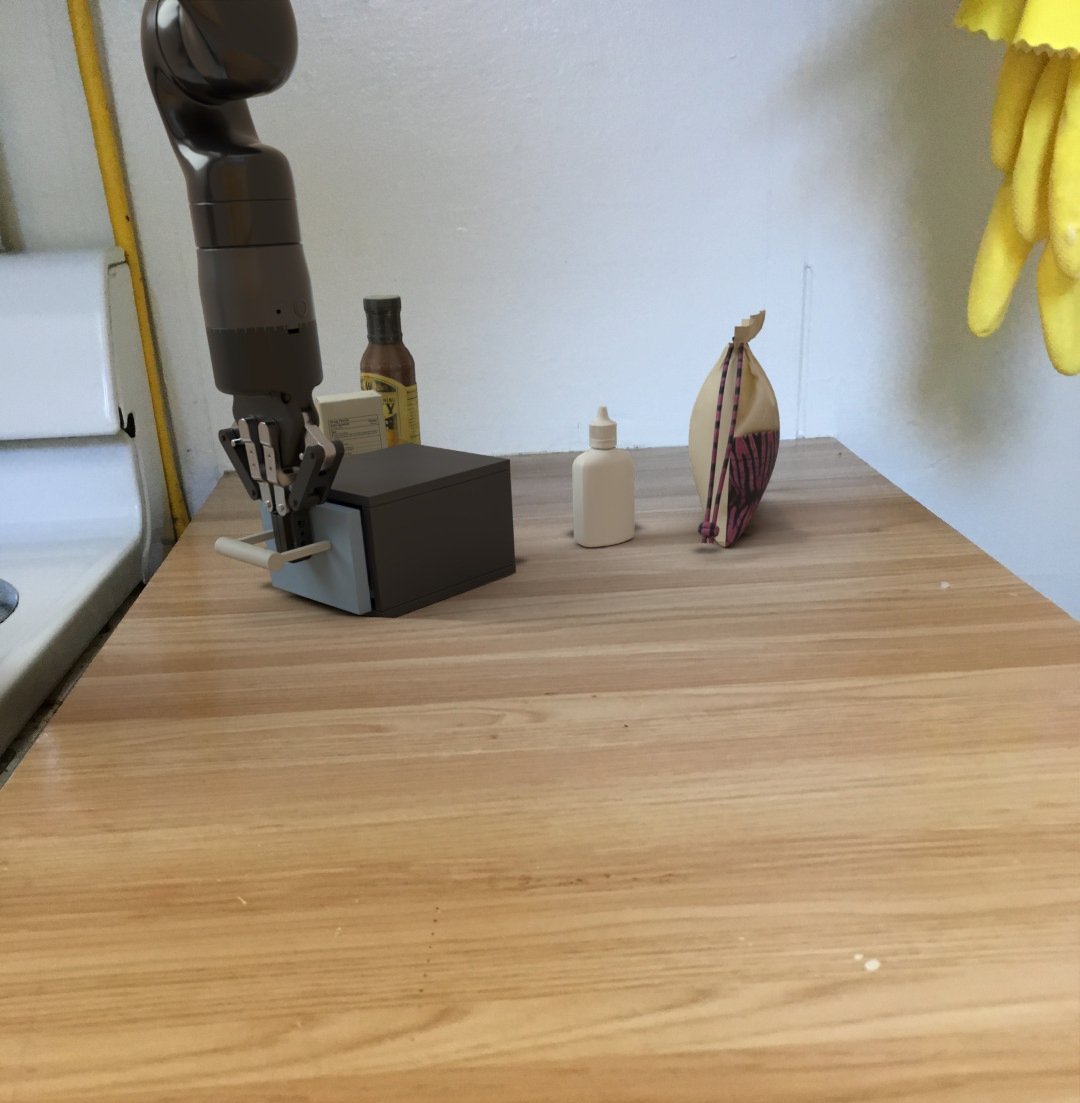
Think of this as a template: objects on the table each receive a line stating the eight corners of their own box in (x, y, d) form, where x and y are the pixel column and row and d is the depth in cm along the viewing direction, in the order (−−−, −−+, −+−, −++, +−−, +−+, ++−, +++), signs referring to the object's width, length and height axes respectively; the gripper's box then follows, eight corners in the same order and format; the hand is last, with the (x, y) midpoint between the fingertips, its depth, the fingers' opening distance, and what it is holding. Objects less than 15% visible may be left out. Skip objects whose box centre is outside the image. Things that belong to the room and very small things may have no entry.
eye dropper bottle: (573, 535, 99) (569, 403, 94) (633, 532, 99) (632, 400, 94) (574, 549, 95) (570, 412, 90) (636, 546, 95) (636, 409, 90)
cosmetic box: (390, 509, 111) (377, 388, 106) (398, 519, 107) (385, 394, 102) (328, 516, 109) (312, 394, 104) (334, 527, 105) (318, 400, 100)
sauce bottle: (358, 482, 122) (337, 297, 114) (397, 471, 127) (379, 292, 118) (397, 489, 119) (378, 298, 110) (436, 477, 123) (421, 293, 114)
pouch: (772, 563, 89) (785, 323, 81) (673, 561, 91) (677, 325, 83) (777, 490, 111) (788, 295, 103) (698, 489, 113) (702, 298, 105)
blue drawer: (296, 638, 76) (280, 531, 72) (210, 605, 83) (192, 507, 80) (487, 569, 88) (481, 476, 85) (398, 546, 95) (389, 459, 92)
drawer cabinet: (383, 622, 81) (368, 497, 76) (286, 590, 88) (268, 475, 84) (516, 572, 90) (510, 459, 86) (418, 547, 98) (408, 442, 94)
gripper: (162, 319, 75) (206, 556, 82) (269, 326, 67) (307, 589, 74) (253, 309, 80) (286, 534, 87) (363, 315, 71) (390, 562, 79)
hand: (296, 559), depth 81 cm, fingers closed
